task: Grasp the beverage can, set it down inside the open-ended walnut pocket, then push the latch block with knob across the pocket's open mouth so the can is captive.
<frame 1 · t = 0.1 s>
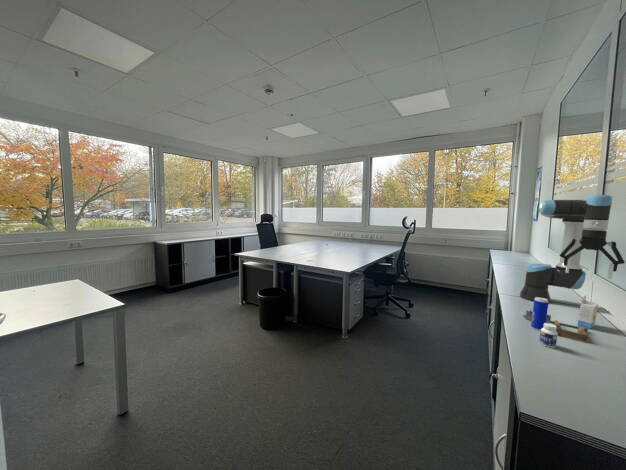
hand: (587, 275, 118), 28 cm above the cabinet, fingers open, 13 cm apart
pill bottle: (547, 345, 109), on the cabinet
beverage can: (537, 328, 124), on the cabinet
latch block with knob: (537, 316, 132), point 3 cm above the cabinet, slide at 0.0 cm
ink box: (586, 326, 130), on the cabinet
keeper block: (568, 332, 121), on the cabinet
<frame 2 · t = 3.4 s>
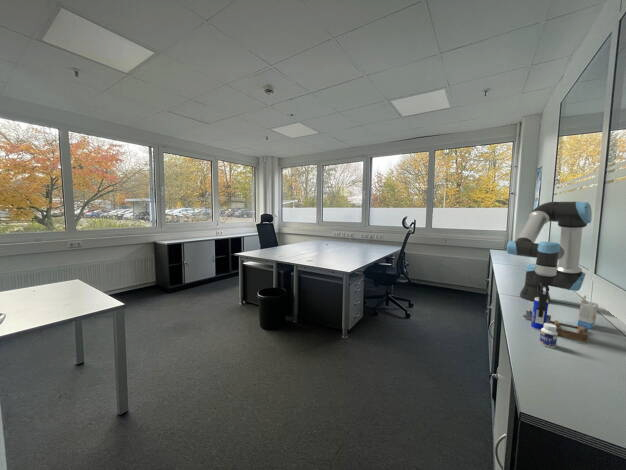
hand: (538, 321, 124), 4 cm above the cabinet, fingers closed on beverage can, 5 cm apart
beverage can: (537, 328, 124), on the cabinet, touching gripper
everything else where it was.
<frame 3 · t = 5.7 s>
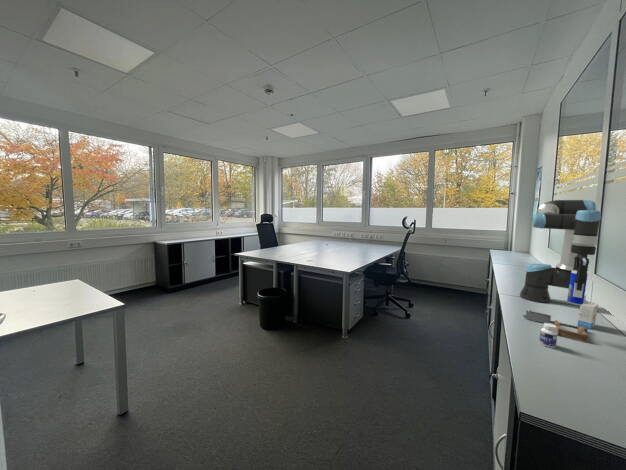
hand: (576, 295, 116), 19 cm above the cabinet, fingers closed on beverage can, 5 cm apart
beverage can: (574, 303, 117), point 15 cm above the cabinet, touching gripper
everything else where it was.
when the fingers open (5 cm above the cabinet, at t = 8.4 s): beverage can drops 1 cm, resting in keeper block.
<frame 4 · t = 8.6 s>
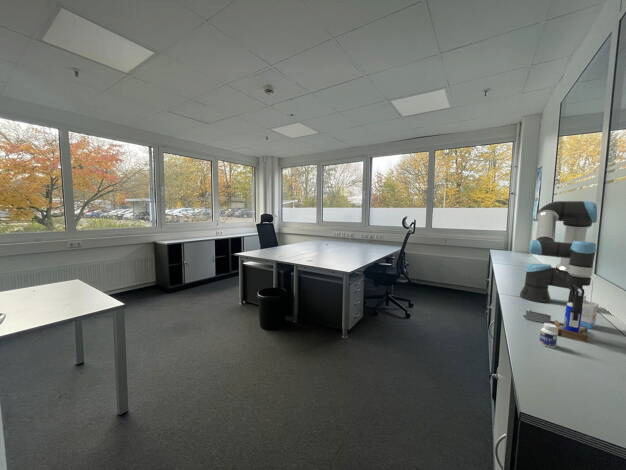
hand: (571, 323, 118), 6 cm above the cabinet, fingers open, 7 cm apart
beverage can: (570, 335, 119), resting in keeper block
everything else where it was.
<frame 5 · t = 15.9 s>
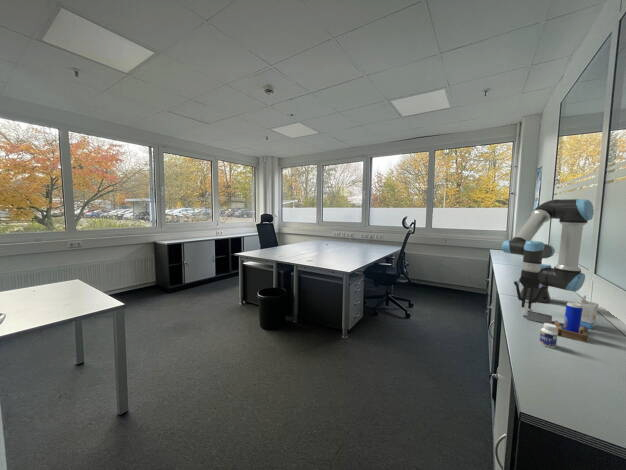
hand: (525, 313, 136), 2 cm above the cabinet, fingers closed
latch block with knob: (539, 316, 132), point 3 cm above the cabinet, slide at 0.5 cm, touching gripper
everything else where it was.
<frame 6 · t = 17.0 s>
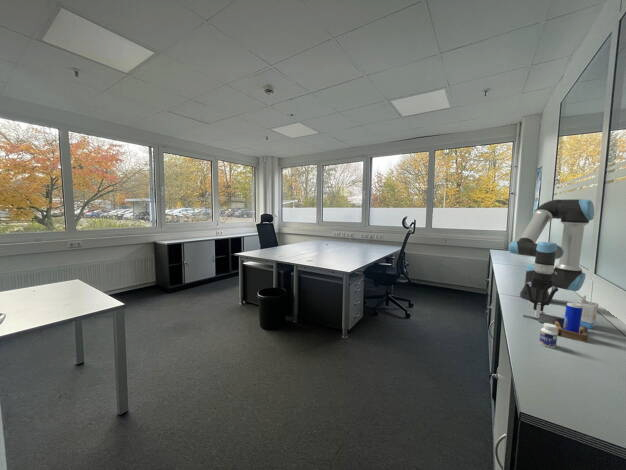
hand: (537, 316, 133), 2 cm above the cabinet, fingers closed
latch block with knob: (551, 319, 129), point 3 cm above the cabinet, slide at 5.3 cm, touching gripper
everything else where it was.
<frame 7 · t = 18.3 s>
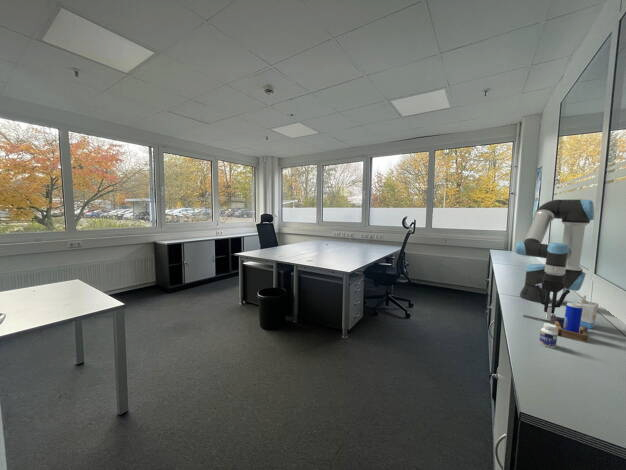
hand: (547, 318, 130), 2 cm above the cabinet, fingers closed
latch block with knob: (563, 321, 127), point 3 cm above the cabinet, slide at 9.4 cm, touching gripper
everything else where it was.
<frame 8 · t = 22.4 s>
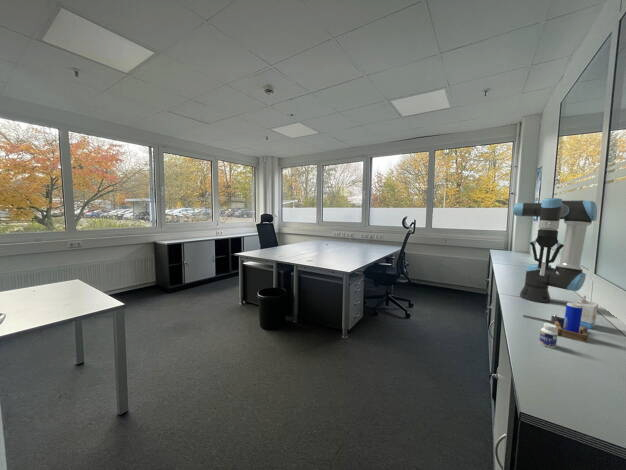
hand: (541, 275, 131), 24 cm above the cabinet, fingers closed
latch block with knob: (564, 321, 126), point 3 cm above the cabinet, slide at 9.9 cm
everything else where it was.
at the end: latch block with knob slide at 9.9 cm; beverage can inside the target area (1.7 cm from its centre), resting in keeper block; beverage can tilted 0° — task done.
